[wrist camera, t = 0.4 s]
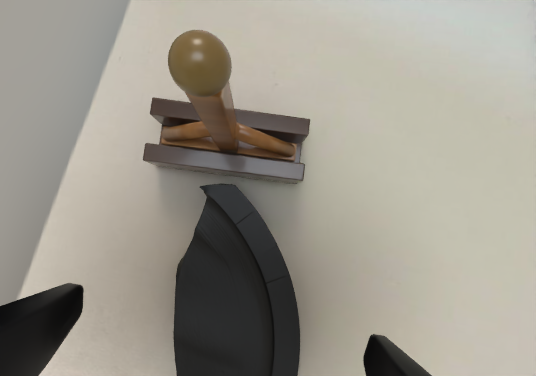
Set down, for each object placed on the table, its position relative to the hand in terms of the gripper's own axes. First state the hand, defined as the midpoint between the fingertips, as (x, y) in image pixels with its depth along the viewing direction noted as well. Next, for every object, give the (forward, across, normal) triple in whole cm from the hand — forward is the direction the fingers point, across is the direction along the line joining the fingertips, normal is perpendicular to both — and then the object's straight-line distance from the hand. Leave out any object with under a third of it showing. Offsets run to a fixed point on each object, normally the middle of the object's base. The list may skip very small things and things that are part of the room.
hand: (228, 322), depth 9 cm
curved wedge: (+10, 0, +6) cm, 12 cm away
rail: (+13, +2, -4) cm, 14 cm away
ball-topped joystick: (+12, +2, -4) cm, 13 cm away
